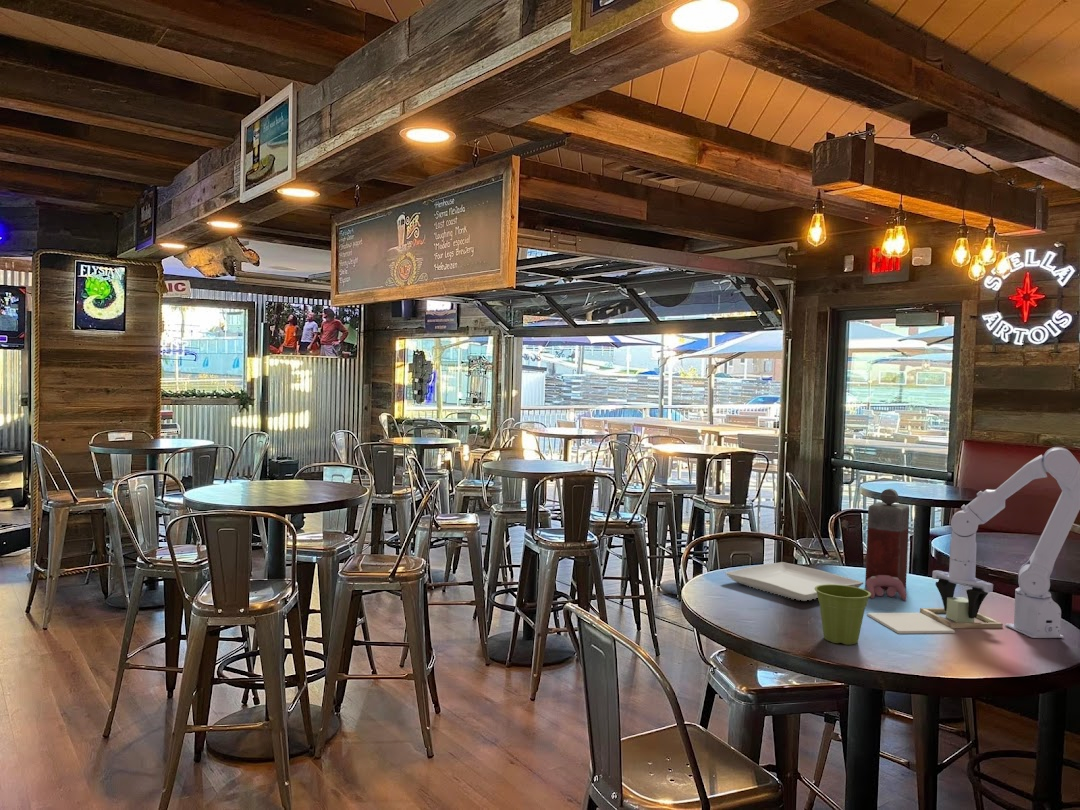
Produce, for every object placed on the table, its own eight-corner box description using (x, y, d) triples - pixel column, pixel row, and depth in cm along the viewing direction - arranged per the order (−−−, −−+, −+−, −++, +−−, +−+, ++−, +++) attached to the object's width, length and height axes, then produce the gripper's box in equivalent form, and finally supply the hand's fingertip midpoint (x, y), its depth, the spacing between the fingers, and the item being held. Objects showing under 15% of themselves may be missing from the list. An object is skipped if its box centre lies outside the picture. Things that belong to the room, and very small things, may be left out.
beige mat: (954, 633, 185) (954, 630, 185) (898, 633, 184) (898, 630, 184) (920, 614, 199) (920, 612, 199) (867, 615, 198) (867, 612, 198)
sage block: (974, 622, 194) (975, 602, 194) (957, 622, 194) (958, 602, 193) (962, 617, 198) (963, 597, 198) (946, 617, 198) (947, 597, 198)
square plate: (805, 608, 204) (806, 593, 204) (722, 584, 226) (723, 571, 225) (864, 593, 220) (865, 579, 220) (781, 572, 242) (782, 559, 242)
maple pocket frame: (1002, 627, 190) (1002, 623, 190) (951, 628, 189) (951, 624, 189) (967, 611, 203) (968, 607, 203) (920, 611, 202) (920, 608, 202)
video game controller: (902, 603, 215) (899, 577, 218) (908, 599, 211) (905, 573, 214) (865, 601, 216) (862, 575, 219) (870, 597, 212) (867, 572, 215)
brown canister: (908, 584, 229) (912, 488, 228) (898, 592, 220) (902, 492, 219) (876, 579, 235) (880, 485, 234) (864, 586, 226) (868, 488, 225)
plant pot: (876, 640, 179) (878, 590, 178) (857, 653, 170) (859, 601, 169) (825, 628, 186) (826, 580, 186) (804, 639, 178) (805, 590, 177)
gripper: (1001, 564, 191) (998, 620, 192) (945, 552, 204) (943, 604, 204) (983, 567, 188) (981, 623, 188) (928, 554, 200) (925, 607, 201)
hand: (960, 614), depth 196 cm, fingers closed on sage block, 6 cm apart
